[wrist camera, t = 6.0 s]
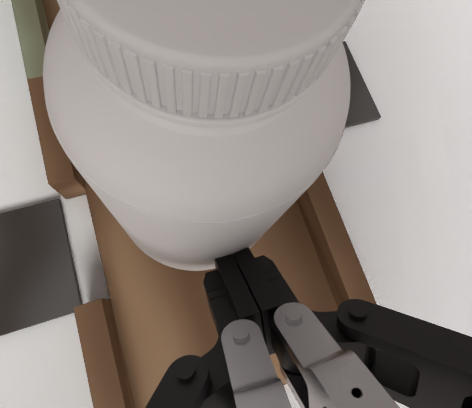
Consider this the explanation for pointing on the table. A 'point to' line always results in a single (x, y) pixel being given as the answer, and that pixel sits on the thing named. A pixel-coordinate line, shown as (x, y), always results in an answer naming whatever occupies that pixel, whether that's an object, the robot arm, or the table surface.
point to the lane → (144, 267)
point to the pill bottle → (198, 113)
